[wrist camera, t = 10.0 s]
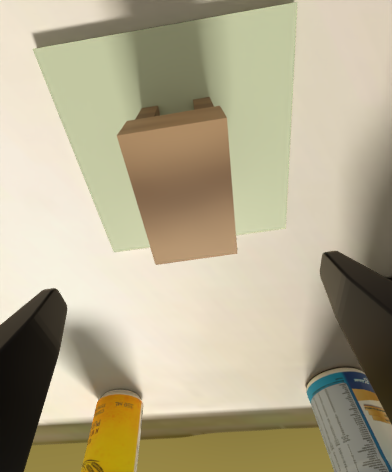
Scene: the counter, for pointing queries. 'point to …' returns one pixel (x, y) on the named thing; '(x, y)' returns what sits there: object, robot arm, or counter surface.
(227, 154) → the walnut stool
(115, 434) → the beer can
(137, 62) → the sage board
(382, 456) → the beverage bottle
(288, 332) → the counter surface
